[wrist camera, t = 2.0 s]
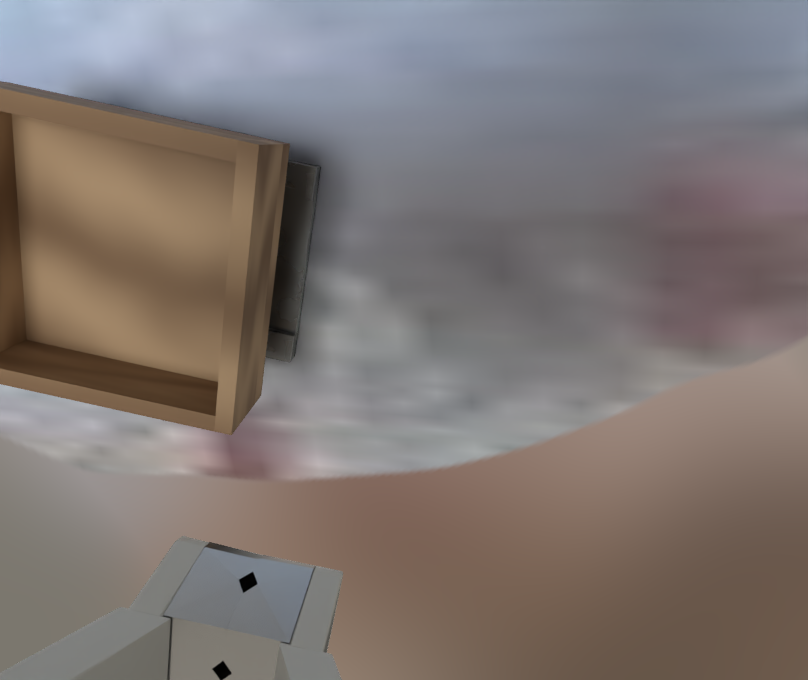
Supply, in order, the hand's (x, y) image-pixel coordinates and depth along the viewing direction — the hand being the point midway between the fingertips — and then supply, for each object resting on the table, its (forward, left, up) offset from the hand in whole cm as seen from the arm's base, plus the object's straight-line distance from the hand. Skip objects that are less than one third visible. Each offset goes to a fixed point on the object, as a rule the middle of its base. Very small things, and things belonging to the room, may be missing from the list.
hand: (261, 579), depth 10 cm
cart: (0, -12, -19) cm, 22 cm away
